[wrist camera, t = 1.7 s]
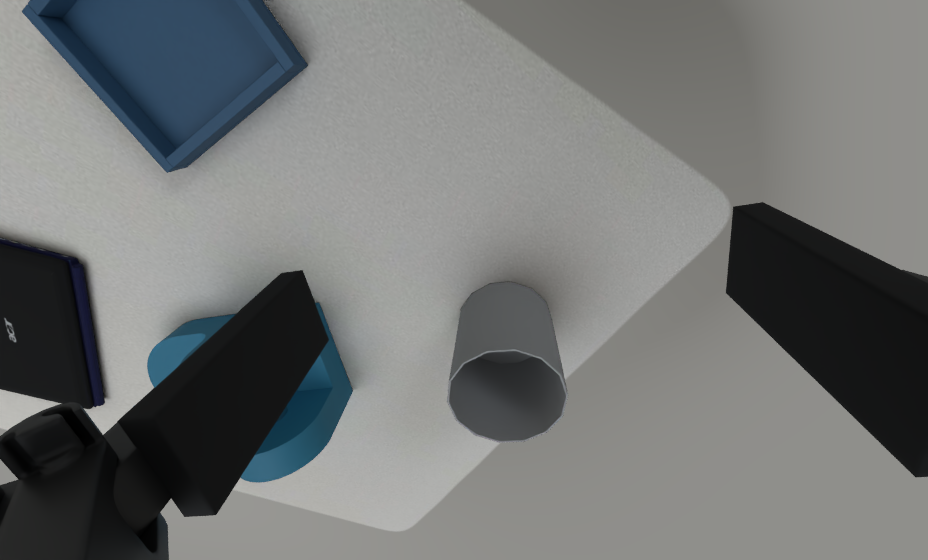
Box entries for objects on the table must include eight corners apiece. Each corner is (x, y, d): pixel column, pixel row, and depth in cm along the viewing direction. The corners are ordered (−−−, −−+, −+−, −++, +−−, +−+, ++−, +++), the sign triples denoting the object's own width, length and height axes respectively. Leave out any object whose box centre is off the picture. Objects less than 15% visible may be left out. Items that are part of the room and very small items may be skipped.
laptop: (117, 272, 39) (98, 281, 37) (107, 415, 48) (92, 429, 46) (-63, 200, 37) (-91, 207, 36) (-39, 363, 46) (-61, 374, 44)
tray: (173, -126, 26) (145, -143, 24) (308, 65, 30) (294, 64, 28) (53, 15, 30) (20, 11, 28) (186, 167, 34) (166, 173, 32)
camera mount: (319, 302, 39) (261, 374, 30) (352, 390, 43) (312, 478, 34) (150, 325, 42) (48, 399, 32) (198, 406, 46) (120, 492, 37)
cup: (440, 320, 39) (422, 394, 30) (505, 263, 36) (507, 327, 27) (504, 374, 41) (505, 459, 32) (570, 325, 38) (592, 402, 29)
